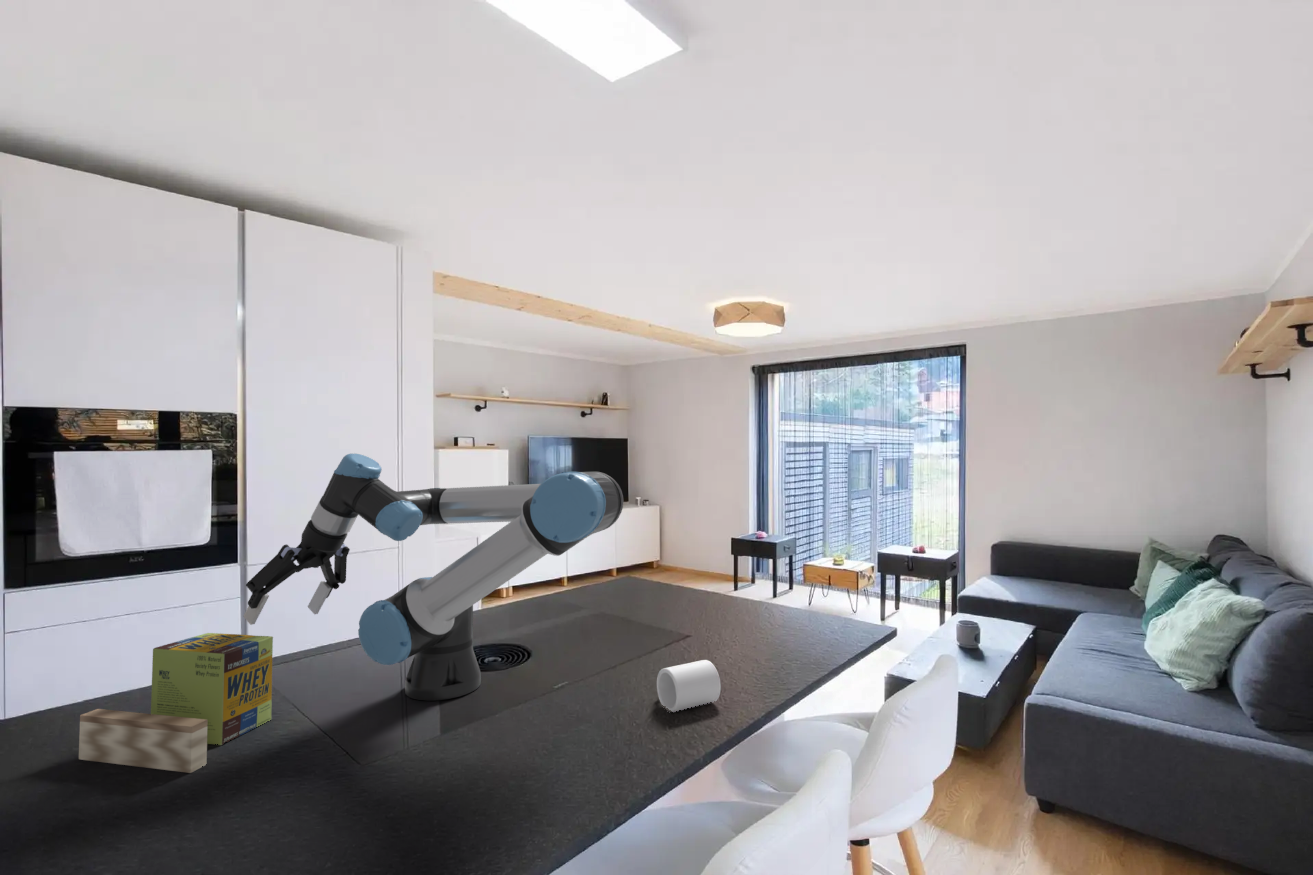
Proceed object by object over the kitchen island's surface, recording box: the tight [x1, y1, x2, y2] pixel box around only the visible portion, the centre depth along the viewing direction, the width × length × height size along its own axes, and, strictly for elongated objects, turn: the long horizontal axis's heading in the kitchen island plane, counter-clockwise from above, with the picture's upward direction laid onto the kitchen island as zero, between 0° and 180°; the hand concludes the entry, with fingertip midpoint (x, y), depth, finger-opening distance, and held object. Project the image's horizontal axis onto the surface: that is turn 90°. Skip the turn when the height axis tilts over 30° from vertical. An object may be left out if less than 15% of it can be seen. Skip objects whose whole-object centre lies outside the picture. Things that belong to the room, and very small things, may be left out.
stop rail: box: [78, 708, 208, 774], centre depth 97 cm, size 22×3×7 cm, turn 78°
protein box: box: [150, 632, 274, 746], centre depth 109 cm, size 10×15×16 cm
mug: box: [656, 659, 722, 713], centre depth 120 cm, size 12×10×8 cm
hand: (282, 615), depth 122 cm, fingers open, 13 cm apart
